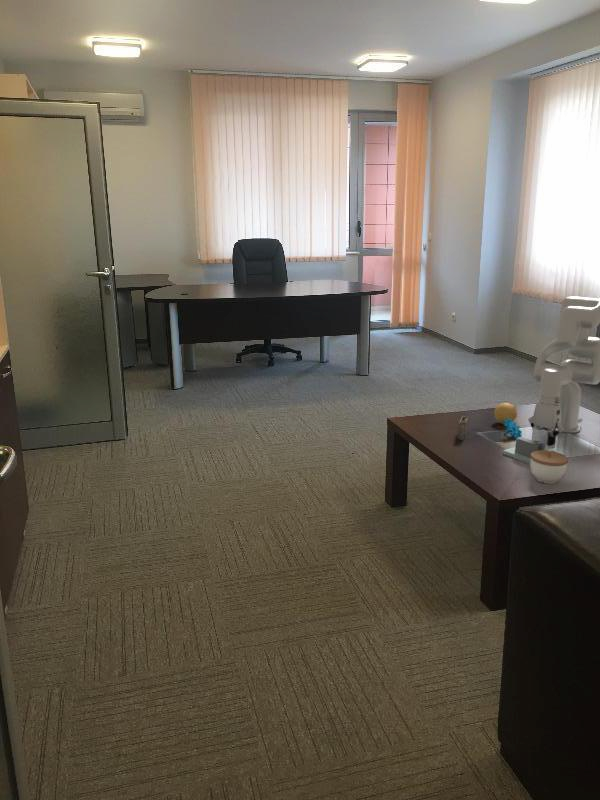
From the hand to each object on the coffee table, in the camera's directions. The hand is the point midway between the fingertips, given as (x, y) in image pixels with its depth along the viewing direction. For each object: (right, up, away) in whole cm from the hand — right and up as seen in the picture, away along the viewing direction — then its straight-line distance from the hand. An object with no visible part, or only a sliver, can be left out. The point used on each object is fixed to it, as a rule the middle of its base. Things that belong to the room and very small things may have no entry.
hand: (543, 442), depth 260 cm
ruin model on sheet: (-27, +1, +21) cm, 34 cm away
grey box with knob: (0, -2, +1) cm, 2 cm away
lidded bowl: (-8, -12, -25) cm, 29 cm away
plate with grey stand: (-4, -5, -2) cm, 7 cm away
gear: (-6, +1, +21) cm, 22 cm away
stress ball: (-4, +6, +37) cm, 38 cm away
